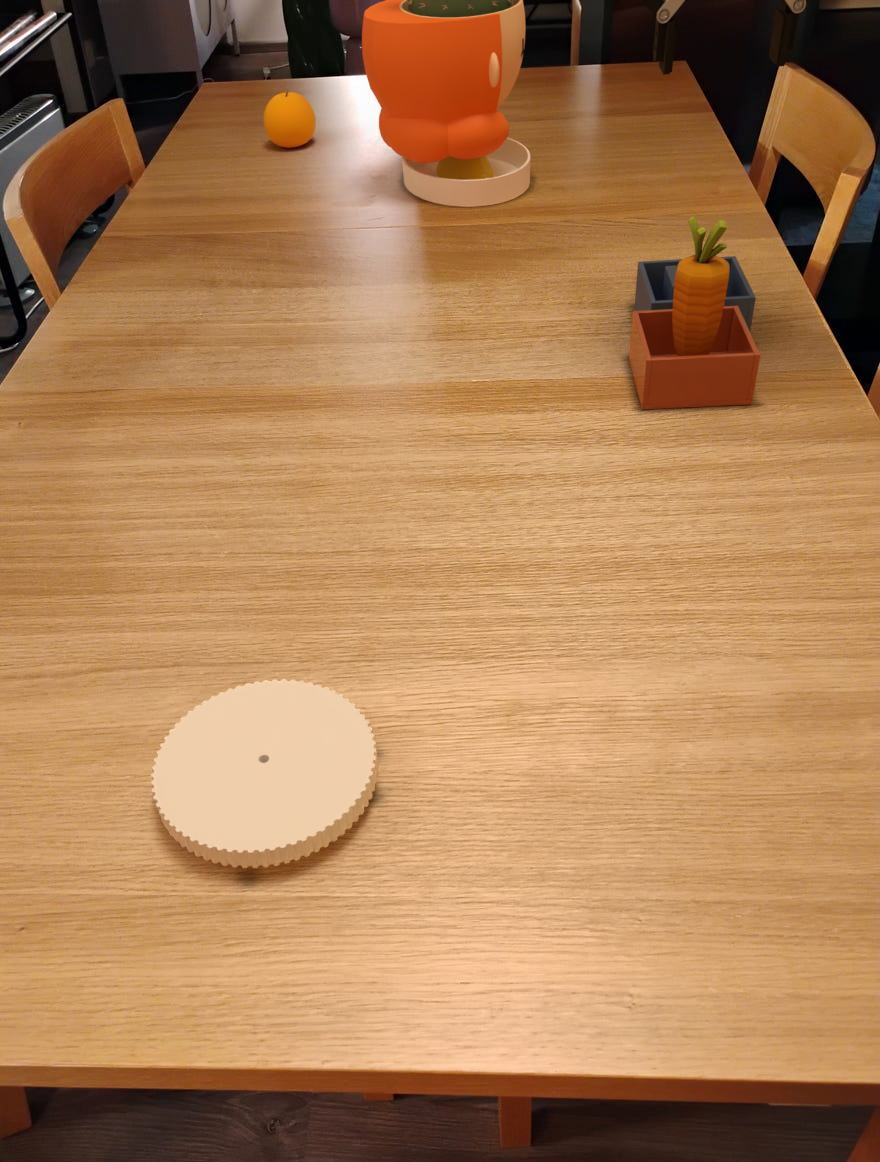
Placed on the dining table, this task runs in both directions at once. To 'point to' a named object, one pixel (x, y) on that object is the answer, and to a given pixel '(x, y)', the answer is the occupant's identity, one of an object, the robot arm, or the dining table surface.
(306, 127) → the orange
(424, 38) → the potted cactus
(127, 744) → the dining table surface
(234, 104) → the dining table surface
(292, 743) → the beige gear wheel
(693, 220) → the carrot
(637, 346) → the terracotta bin
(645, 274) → the blue bin
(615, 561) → the dining table surface
